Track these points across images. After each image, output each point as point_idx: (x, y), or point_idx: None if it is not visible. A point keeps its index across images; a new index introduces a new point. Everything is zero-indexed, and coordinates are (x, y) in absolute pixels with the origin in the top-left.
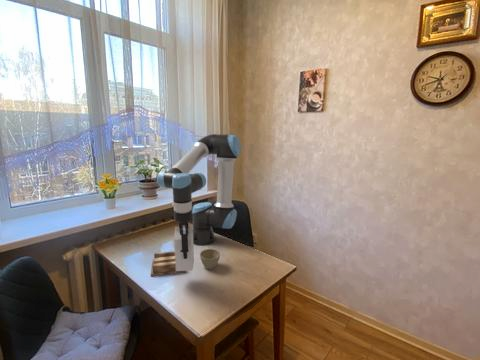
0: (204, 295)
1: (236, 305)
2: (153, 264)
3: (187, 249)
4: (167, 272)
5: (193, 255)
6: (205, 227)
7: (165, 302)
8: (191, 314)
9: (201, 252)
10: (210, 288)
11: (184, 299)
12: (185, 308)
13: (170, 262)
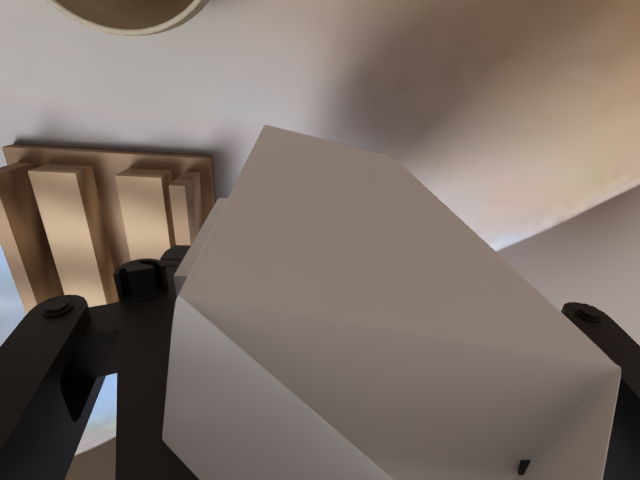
0: (482, 79)
1: None
2: None
3: (621, 341)
4: None
5: (286, 144)
6: None
7: None
8: (577, 172)
9: (63, 4)
10: (437, 22)
11: (462, 191)
12: (525, 193)
13: (138, 256)
